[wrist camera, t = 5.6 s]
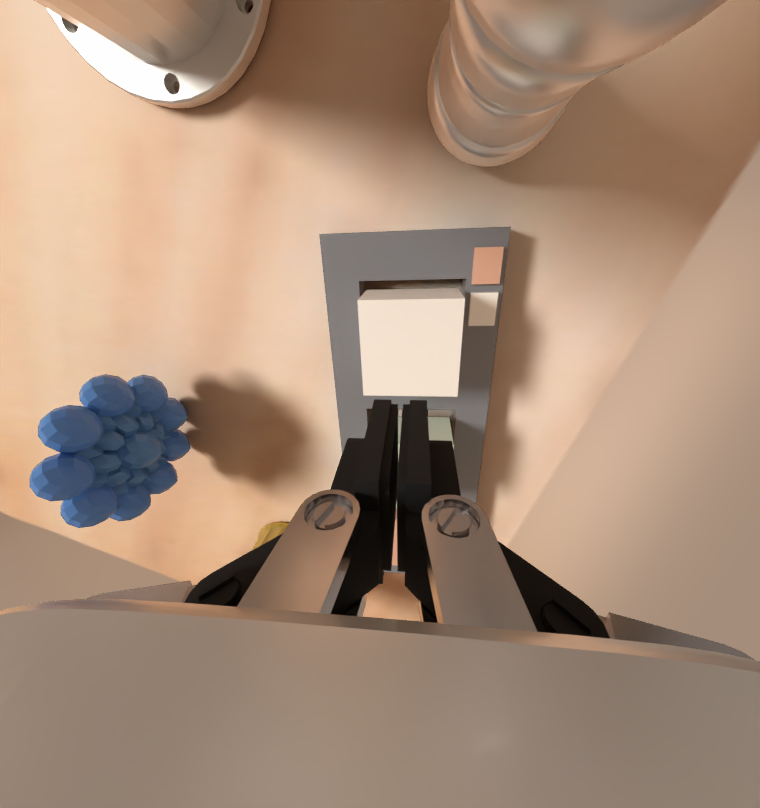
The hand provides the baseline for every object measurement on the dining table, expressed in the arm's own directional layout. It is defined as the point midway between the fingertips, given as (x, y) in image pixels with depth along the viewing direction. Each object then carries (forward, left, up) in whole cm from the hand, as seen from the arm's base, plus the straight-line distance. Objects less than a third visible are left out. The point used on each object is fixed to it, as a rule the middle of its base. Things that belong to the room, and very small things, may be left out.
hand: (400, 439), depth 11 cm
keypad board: (+9, 0, -15) cm, 17 cm away
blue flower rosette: (+7, -21, -15) cm, 27 cm away
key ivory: (0, 0, -13) cm, 13 cm away
